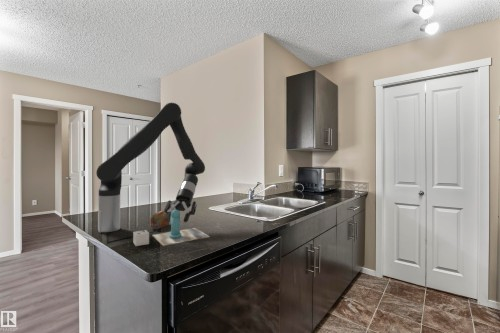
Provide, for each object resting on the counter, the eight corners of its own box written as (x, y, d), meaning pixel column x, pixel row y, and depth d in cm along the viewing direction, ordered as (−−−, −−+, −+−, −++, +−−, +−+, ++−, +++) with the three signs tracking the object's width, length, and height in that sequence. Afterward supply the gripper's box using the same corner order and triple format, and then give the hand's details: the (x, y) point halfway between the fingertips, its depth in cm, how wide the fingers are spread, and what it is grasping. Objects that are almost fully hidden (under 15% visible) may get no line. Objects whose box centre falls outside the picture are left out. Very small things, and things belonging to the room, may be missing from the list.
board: (163, 246, 97) (163, 245, 97) (151, 235, 111) (151, 234, 111) (210, 237, 110) (210, 236, 110) (194, 228, 123) (194, 227, 123)
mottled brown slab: (154, 231, 117) (155, 214, 117) (149, 231, 118) (149, 214, 118) (171, 224, 132) (171, 208, 132) (165, 223, 133) (165, 208, 132)
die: (135, 247, 96) (135, 234, 96) (133, 243, 100) (133, 231, 100) (149, 245, 99) (149, 232, 99) (146, 241, 103) (146, 229, 103)
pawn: (171, 239, 105) (171, 211, 105) (167, 236, 109) (167, 209, 109) (183, 237, 108) (183, 210, 108) (178, 234, 112) (179, 208, 112)
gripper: (170, 187, 118) (158, 216, 107) (198, 188, 116) (188, 217, 105) (175, 196, 124) (163, 224, 112) (201, 197, 121) (193, 226, 110)
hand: (175, 221), depth 109 cm, fingers open, 8 cm apart
